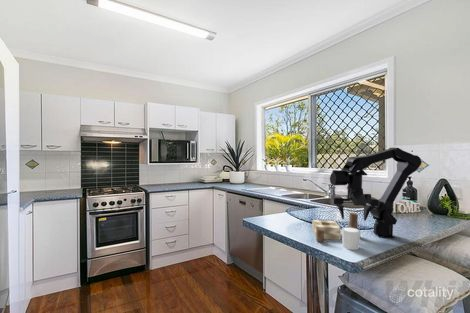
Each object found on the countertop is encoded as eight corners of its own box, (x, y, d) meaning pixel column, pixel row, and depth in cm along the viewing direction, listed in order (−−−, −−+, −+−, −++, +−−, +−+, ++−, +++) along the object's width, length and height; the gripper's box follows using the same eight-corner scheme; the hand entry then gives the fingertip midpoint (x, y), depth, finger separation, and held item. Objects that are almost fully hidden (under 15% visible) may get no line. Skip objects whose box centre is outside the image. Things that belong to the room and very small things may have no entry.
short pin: (322, 240, 103) (322, 228, 103) (323, 242, 100) (324, 230, 100) (316, 239, 103) (316, 228, 103) (317, 242, 101) (317, 230, 101)
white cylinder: (354, 252, 92) (355, 234, 91) (337, 245, 97) (338, 228, 97) (363, 247, 96) (364, 230, 95) (346, 242, 101) (347, 225, 101)
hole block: (334, 231, 114) (334, 220, 113) (340, 239, 104) (340, 228, 103) (312, 230, 115) (312, 219, 115) (316, 238, 105) (316, 226, 105)
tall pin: (355, 234, 110) (355, 212, 109) (357, 236, 107) (357, 214, 107) (348, 234, 110) (349, 212, 110) (350, 236, 107) (351, 214, 107)
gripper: (337, 187, 101) (336, 224, 102) (385, 189, 98) (384, 227, 99) (331, 183, 112) (330, 216, 113) (374, 184, 109) (373, 218, 110)
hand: (353, 219), depth 108 cm, fingers open, 9 cm apart
